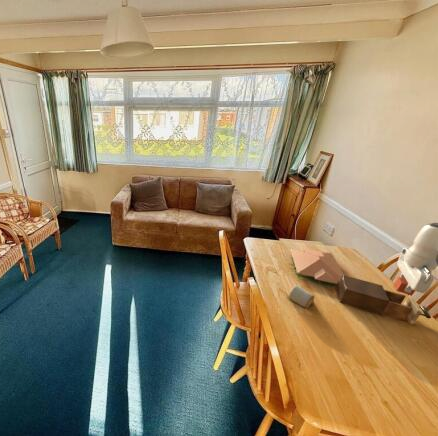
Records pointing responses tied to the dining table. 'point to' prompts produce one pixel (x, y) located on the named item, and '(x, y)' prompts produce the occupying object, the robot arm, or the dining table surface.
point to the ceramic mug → (301, 296)
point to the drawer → (404, 308)
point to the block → (401, 285)
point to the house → (317, 266)
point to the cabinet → (362, 294)
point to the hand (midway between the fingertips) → (404, 286)
